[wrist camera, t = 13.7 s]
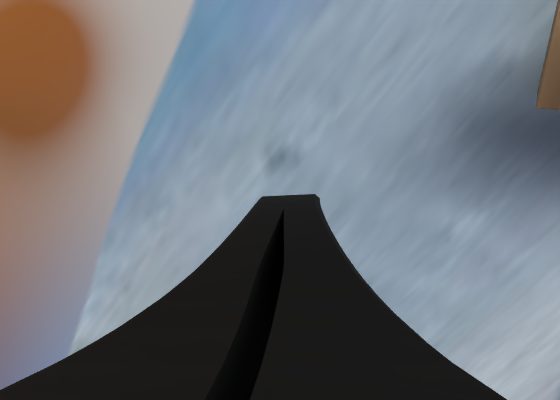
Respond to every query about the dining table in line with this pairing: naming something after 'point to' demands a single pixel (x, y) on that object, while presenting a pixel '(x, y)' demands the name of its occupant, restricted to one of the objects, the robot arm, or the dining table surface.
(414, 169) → the dining table surface
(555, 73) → the domino
